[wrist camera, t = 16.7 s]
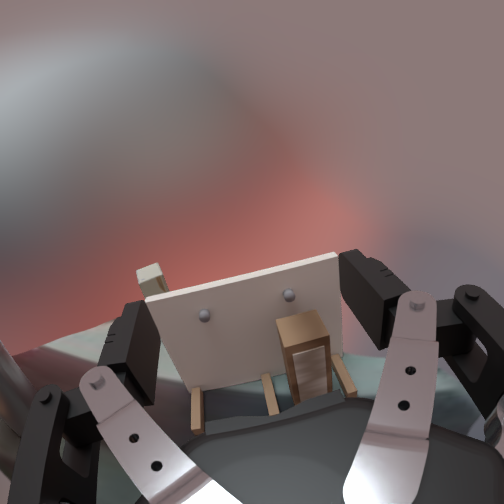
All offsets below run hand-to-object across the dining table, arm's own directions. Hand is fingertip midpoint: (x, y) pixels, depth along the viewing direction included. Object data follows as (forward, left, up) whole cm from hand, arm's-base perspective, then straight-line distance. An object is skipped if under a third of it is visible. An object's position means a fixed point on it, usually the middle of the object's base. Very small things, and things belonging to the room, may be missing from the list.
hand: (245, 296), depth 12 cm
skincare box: (-16, +35, -26) cm, 46 cm away
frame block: (+4, +13, -26) cm, 29 cm away
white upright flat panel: (-1, +15, -26) cm, 30 cm away
